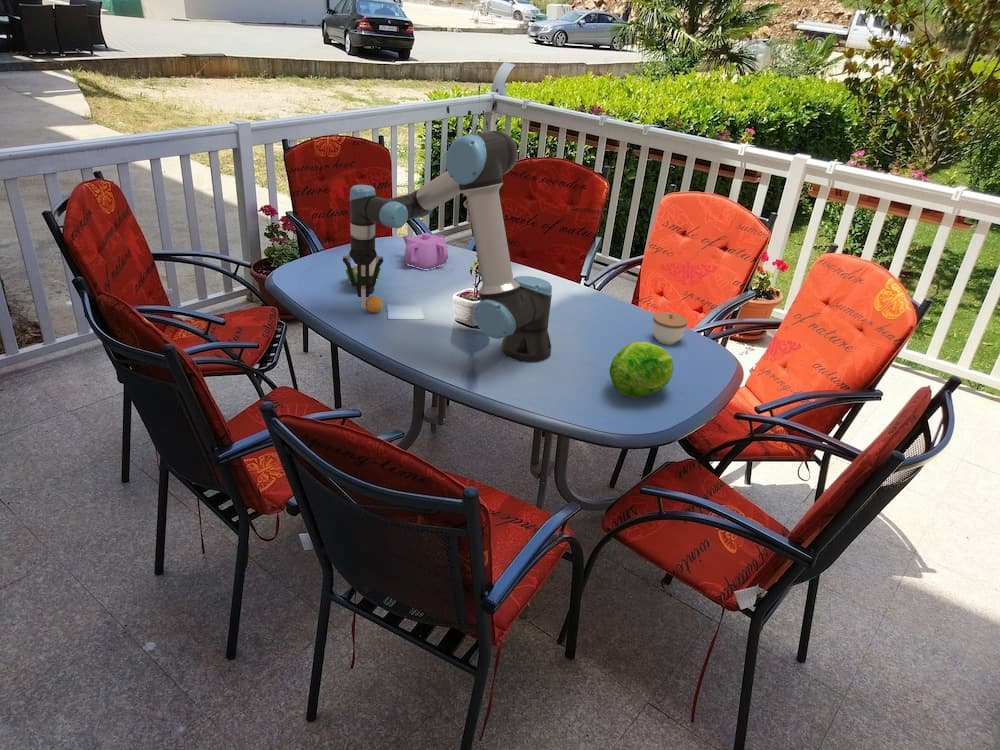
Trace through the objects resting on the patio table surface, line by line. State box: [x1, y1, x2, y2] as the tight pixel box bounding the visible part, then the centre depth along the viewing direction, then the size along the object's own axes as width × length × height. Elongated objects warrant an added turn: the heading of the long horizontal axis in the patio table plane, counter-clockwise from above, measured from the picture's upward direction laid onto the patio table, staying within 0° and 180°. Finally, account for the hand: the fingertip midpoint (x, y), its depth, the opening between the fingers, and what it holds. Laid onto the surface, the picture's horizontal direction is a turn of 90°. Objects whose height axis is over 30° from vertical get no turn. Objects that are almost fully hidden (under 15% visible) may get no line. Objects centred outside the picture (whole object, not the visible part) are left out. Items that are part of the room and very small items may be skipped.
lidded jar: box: [652, 311, 688, 346], centre depth 227 cm, size 11×11×9 cm
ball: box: [365, 295, 384, 314], centre depth 231 cm, size 6×6×6 cm
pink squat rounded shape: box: [402, 232, 449, 269], centre depth 275 cm, size 17×17×12 cm
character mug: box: [352, 258, 376, 294], centre depth 245 cm, size 11×7×13 cm, turn 147°
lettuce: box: [609, 341, 674, 399], centre depth 194 cm, size 15×23×16 cm
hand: (363, 305), depth 231 cm, fingers closed
